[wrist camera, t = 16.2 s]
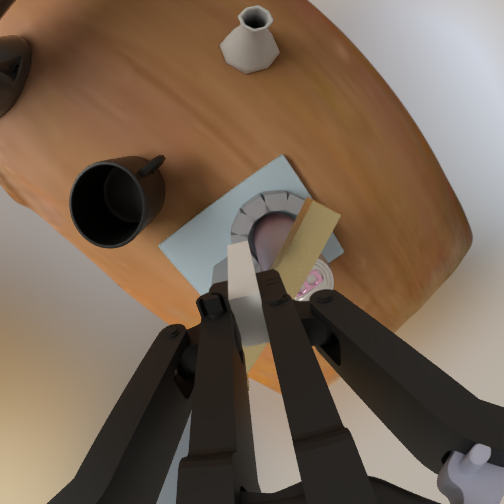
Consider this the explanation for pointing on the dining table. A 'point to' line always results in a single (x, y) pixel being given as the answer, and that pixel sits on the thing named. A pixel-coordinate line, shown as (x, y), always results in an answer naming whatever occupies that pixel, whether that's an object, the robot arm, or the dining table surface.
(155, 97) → the dining table surface
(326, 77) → the dining table surface
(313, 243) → the lever
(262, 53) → the flask
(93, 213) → the mug
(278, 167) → the seat board
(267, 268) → the beverage can
